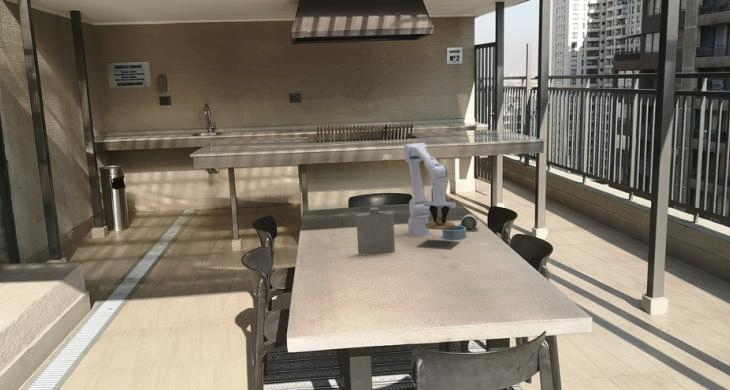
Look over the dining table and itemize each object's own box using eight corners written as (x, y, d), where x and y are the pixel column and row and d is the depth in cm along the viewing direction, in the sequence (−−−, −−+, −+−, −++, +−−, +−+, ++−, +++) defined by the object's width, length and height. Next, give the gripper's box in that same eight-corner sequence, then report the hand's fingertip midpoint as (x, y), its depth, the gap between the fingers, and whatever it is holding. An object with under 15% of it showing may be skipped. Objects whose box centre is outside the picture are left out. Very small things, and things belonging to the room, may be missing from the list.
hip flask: (358, 255, 257) (356, 210, 254) (358, 253, 261) (355, 208, 258) (395, 253, 258) (393, 207, 255) (394, 250, 262) (392, 205, 259)
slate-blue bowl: (439, 239, 277) (438, 230, 276) (447, 234, 286) (447, 224, 286) (461, 241, 272) (461, 231, 271) (469, 235, 281) (469, 226, 280)
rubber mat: (416, 247, 265) (416, 246, 265) (428, 240, 277) (427, 239, 277) (450, 250, 257) (450, 249, 257) (461, 242, 269) (461, 241, 269)
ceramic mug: (477, 227, 296) (476, 212, 295) (477, 231, 288) (476, 215, 287) (456, 228, 299) (455, 213, 297) (454, 231, 291) (454, 216, 290)
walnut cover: (420, 228, 265) (420, 219, 264) (432, 222, 276) (431, 213, 275) (448, 230, 258) (448, 221, 258) (458, 223, 270) (458, 215, 269)
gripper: (420, 193, 265) (421, 223, 267) (451, 195, 258) (452, 225, 260) (426, 191, 271) (427, 220, 273) (456, 192, 264) (457, 222, 266)
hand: (440, 222), depth 267 cm, fingers closed on walnut cover, 3 cm apart
